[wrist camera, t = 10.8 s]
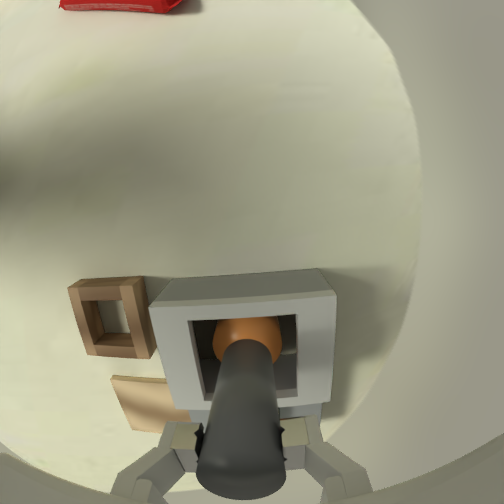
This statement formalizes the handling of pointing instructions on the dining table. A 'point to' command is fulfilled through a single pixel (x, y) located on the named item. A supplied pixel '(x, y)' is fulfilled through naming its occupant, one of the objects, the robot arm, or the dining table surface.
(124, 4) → the candy bar
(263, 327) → the plunger
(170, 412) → the pad
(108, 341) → the stand
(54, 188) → the dining table surface
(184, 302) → the grey boxy piece
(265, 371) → the grey rounded rod
